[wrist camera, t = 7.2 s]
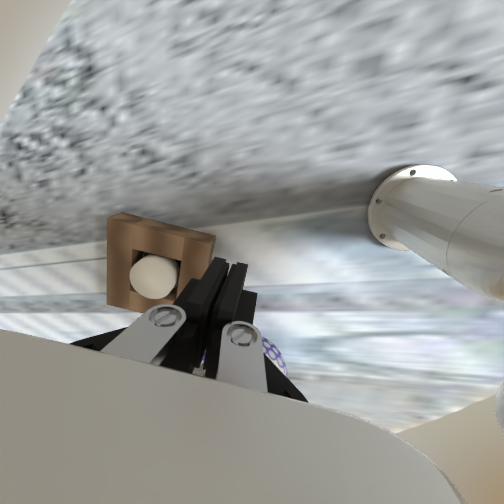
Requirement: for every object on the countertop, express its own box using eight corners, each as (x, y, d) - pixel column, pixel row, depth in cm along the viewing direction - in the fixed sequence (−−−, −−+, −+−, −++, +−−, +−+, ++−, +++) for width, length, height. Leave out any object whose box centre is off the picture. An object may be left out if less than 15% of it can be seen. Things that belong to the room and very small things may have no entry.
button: (182, 257, 40) (174, 266, 37) (177, 292, 43) (170, 303, 40) (141, 247, 40) (130, 255, 37) (139, 282, 43) (128, 293, 40)
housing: (215, 236, 41) (210, 244, 37) (201, 312, 47) (195, 325, 43) (122, 212, 40) (107, 218, 37) (120, 292, 46) (106, 304, 43)
